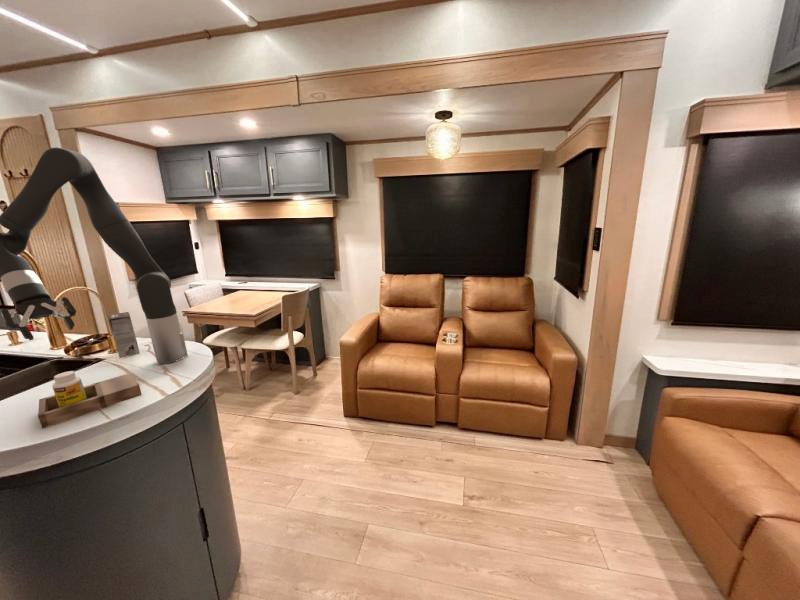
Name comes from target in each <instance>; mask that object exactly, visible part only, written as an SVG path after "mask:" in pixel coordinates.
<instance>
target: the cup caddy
mask: <svg viewBox="0 0 800 600" xmlns="http://www.w3.org/2000/svg"><path fill="white" fill-rule="evenodd" d="M83 387H84V391H85V394H86V397H87V399H86V400H83V401H80V402H77V403H74V404H70V405H67V406H64V407H61V408H59V405H58V402H57V399H56V396H55V394H54V395H50V396H46V397H43V398H39V400H38V409H37V410H38V411H37V417H38V420H39V423H40V426H41V428H42V429H46V428H48V427H52V426H53V424H54V425H57V424H60V423H62V422H66V421H70V420H72V419H74V418H75V419H76V418H78V417H80V416H84V415H86V414H89V413H93V412H96V411H98V410H101V409H105V408H108V407H111V406H113V405H117V404H119V403H122V402H125V401H128V400H131V399H135V398H137V397H141V396H143V395H142V394H143V393H142V391H141V387H140V384H139V382H138V380H137V379H136V377H135V375H134V373H133V372H129V373H126V374H123V375H118V376H116V377H115V376H114V377H113V378H112V377H111V378H109V379H105V380H102V381H98V382H96V383H91V384H88V385H85V386H84V385H83ZM56 423H57V424H56Z"/></svg>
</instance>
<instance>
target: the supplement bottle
mask: <svg viewBox="0 0 800 600" xmlns="http://www.w3.org/2000/svg"><path fill="white" fill-rule="evenodd" d="M53 379H54V383H52V385H51V386H52V390H53V394H54V395H55V396H56V399H57V402H58V405H59V408H61V407H64V406H67V405H70V404H74V403H77V402H80V401H83V400H86V399H87V397H86V394H85V391H84V385H83V381H82V378H81V377H79V376H77V375H76V372H75V371H74V370H70V371H69V370H68V371H64V372H61V373H58V374H55V375H54V376H53Z"/></svg>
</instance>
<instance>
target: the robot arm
mask: <svg viewBox="0 0 800 600" xmlns="http://www.w3.org/2000/svg"><path fill="white" fill-rule="evenodd" d="M67 183H69V184H70V185H71V186H72V187H73V188H74V190H75V191H76V192H77V193H78V194H79V196H80V198H81V200H83V203H84V205H85V208H86V211H87V214H88V218H89V220H90V223H91V224H92V227H93V228H94V230H95V231H96V232H97V233H98V235H99V236H100V238H101V239H102V241H103V242H104V243H105V244H106V245H107V246H108V247H109V248H110V250H112V251H113V252H114V253H115V254H116V255H117V256H118V257H120V259H122V260H123V261H124V262H125V263H126V265H128V267H129V268H130V270H131V271H132V272H133V274H134V276H135V278H136V279H137V282H136V291H137V295H138V299H139V301H140V305H141V309H142V311H143V313H144V316H145V320H146V323H147V328H148V332H149V335H150V340H151V344H152V347H153V350H154V351H153V352H154V355H155V359H156V362H157V363H158V364H169V363H174V362H177V361H176V360H178V361H180V360H182V359H184V358H186V357H185V356H187V357H189V354H188V350H187V346H186V340H185V338H184V337H185V336H184V333H183V332H182V330H181V325H180V321H179V316H178V312H177V307H176V306H175V304H174V303H175V302H174V300H173V299H174V298H173V294H172V291H171V288H172V287H171V286H172V282H171V279H170V278H169V276H168V275H167V274H166V273H165V272H164V271H163V270H162V268H161V267H160V266H159V265H158V264H157V262H156V261H155V260H154V258H152V256H151V254H150V253H149V251H148V249H147V248H146V245H145V244H144V242H143V240H142V238H140V235H139V234H138V232H137V230H136V229H135V228H134V226H133V225H132V223H131V222H130V221H129V219H128V218H127V217H126V215H125V214H124V213H123V211H122V210H121V208H120V207H119V205H118V204H117V203H116V201H115V200H114V198H113V197H112V196H111V194H110V193H109V192H108V190H107V189H106V187H105V185H104V184H103V181H102V180H101V178H100V177H99V174H98V173H97V171H96V169H95V167H94V166H93V164H92V162H91V160H90V159H88V158H87V156H85V155H83V154H82V153H80V152H78V151H75V150H72V149H67V148H63V147H50V148H48V149H46V150H45V151H44V152H43V153H42V154H41V156H40V158H39V160H38V161H37V164H36V165H35V167H34V170H33V171H32V173H31V175H30V176H29V178H28V180H27V182H26V184H25V185H24V186H23V188H22V189H21V190H20V192H19V193H18V194H17V196H16V197H15V198H14V199H12V202H11V203H10V204H9V205H8V206H7V207H6V208H5V209H4V211H3V212H2V213H1V214H0V226H2V227H3V228H5V229H6V230H7V232H5V231H4V232H3V231H0V281H1V284H2V286H3V288H4V291H5V293H7V295H8V297H9V298H10V300H11V303H13V305H14V307H15V308H11V309H7V308H2V309H1V310H0V313H1V314H0V315H1V317H2V320H3V322H4V324H5V326H6V329H8V331H11V332H13V331H19V332H20V333H21V335H22V337H23V338H24V339H25V340H29V341H33V340H34V338H35V337H34V335H33V334H32V332H31V330H30V328H29V327H28V325H29V323H30V321H31V320H35V321H36V320H39V319H41V318H47V317H48V318H49V317H50V316H53V317H56V318H59V319H62V320H63V322H64V323H65V325H66V327H67V328H68V330H69V331H72V330H74V328H75V322H74V321H73V319H72V317H75V316H76V313H77V310H76V308H75V307H74V306H73V304H72V302H71V301H70V300H69V298H68V297H65V296H64V297H62V298H60V299H56V300H55V299H53V298H52V297H51V295H50V294H49V292H48V291H47V288H46V287H45V286H44V284H43V281H42V280H41V279H40V277H39V276H38V275H37V273H36V272H35V271H34V269H33V268H32V266H31V264H30V263H29V261H28V260H27V259H26V258H25V257H22V256H20V255H21V254H22V253H24V251H25V250H26V249H27V246H28V244H29V243H28V242H29V240H30V238H31V234H32V231H33V230H34V228H35V227H37V225H38V224H39V223H41V221H42V219H43V218H44V217H45V215H47V213H48V210H49V207H50V205H51V201H52V199H53V198H54V196H55V194H56V193H57V192H58V191H59V189H61V188H62V187H64V185H66V184H67ZM57 305H59V306H60V307H64V308H65V310H66V311H64V310H62V309H60V308H58V307H56V306H57ZM15 314H16V315H20V316H22V317H21V320H20V322H19V323H15V322H14V320H13V317H14V316H15ZM183 357H184V358H183ZM181 358H182V359H181ZM179 359H180V360H179ZM173 361H174V362H173Z"/></svg>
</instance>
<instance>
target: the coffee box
mask: <svg viewBox="0 0 800 600" xmlns="http://www.w3.org/2000/svg"><path fill="white" fill-rule="evenodd" d="M107 317H108V321H109V325H110V329H111V333H112V337H113V339H114V343H115V346H116V350H117V353H118V357H119V359H122V358H123V359H124V358H127V357H131V356H135V355H140V347H139V345H138V342H137V341H138V339H137V337H136V333H135V330H134V329H135V328H134V326H133V325H134V324H133V322H132V318H131V317H132V316H131V315H130V312H129V311H126V312H118V313H117V312H116V313H112V314H108V316H107Z"/></svg>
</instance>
